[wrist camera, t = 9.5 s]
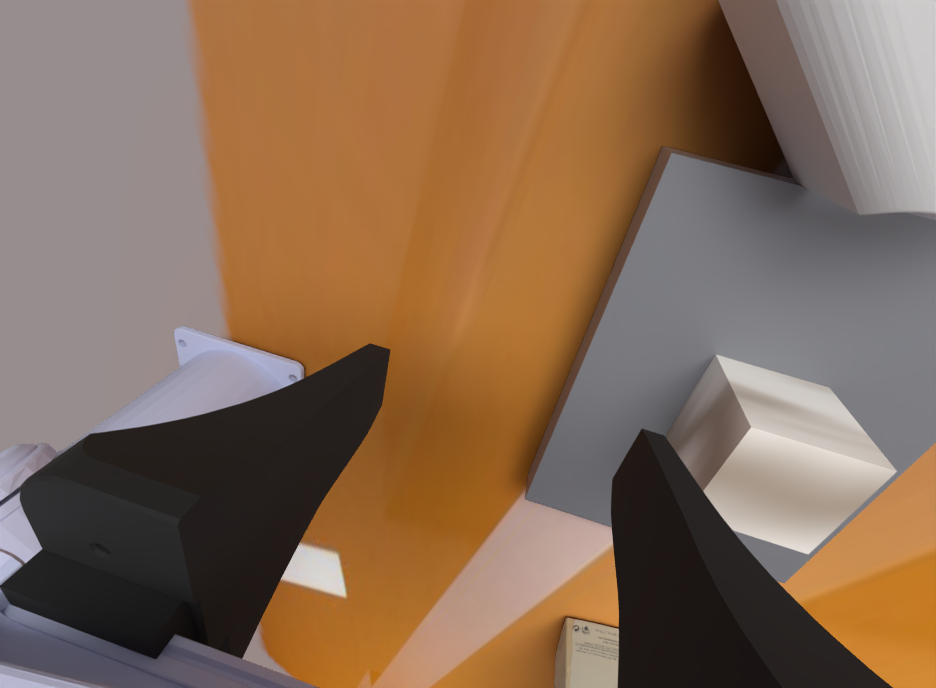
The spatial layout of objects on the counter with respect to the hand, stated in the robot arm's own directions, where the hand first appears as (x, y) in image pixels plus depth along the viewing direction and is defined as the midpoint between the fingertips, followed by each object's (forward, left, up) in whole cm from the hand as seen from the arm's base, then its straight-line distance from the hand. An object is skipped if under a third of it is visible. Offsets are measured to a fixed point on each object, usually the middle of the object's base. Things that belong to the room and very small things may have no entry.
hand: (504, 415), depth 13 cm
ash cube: (-2, -10, -7) cm, 12 cm away
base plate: (-2, -10, -9) cm, 14 cm away
